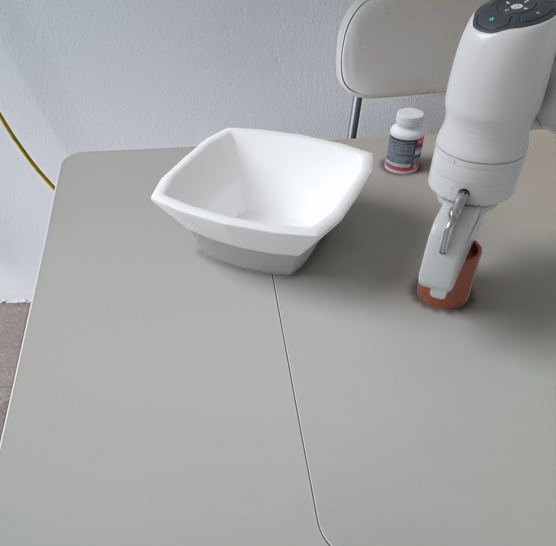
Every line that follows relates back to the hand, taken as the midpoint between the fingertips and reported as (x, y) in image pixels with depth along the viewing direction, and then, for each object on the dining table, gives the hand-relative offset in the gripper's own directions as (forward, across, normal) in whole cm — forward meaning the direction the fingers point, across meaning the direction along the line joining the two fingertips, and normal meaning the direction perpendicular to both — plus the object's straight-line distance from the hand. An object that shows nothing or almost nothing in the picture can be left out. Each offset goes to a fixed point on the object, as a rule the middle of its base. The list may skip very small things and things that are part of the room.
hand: (446, 277), depth 77 cm
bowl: (+3, +1, +24) cm, 25 cm away
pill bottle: (+3, +30, +14) cm, 33 cm away
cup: (+3, 0, 0) cm, 3 cm away
